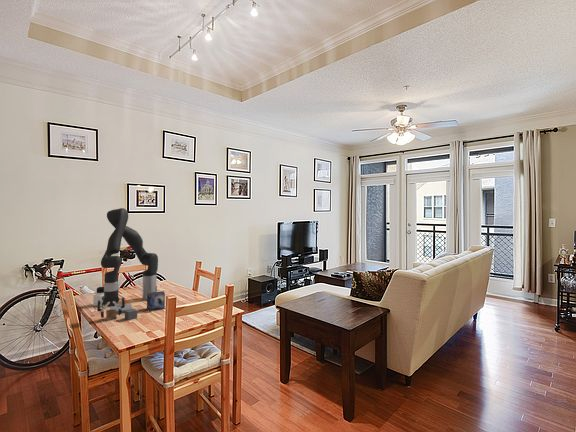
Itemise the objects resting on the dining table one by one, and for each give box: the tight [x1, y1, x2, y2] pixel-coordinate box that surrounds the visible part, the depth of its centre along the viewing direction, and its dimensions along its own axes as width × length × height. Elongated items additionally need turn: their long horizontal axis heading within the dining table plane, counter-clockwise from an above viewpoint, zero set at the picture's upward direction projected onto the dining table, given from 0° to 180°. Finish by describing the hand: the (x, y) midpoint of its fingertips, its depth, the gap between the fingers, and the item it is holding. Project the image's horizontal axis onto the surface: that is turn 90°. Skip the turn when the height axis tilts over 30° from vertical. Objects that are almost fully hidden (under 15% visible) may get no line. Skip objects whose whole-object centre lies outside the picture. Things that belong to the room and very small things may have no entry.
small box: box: [146, 290, 166, 311], centre depth 208 cm, size 11×6×10 cm, turn 118°
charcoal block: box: [124, 308, 138, 321], centre depth 189 cm, size 5×5×5 cm
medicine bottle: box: [92, 286, 105, 308], centre depth 214 cm, size 7×7×12 cm
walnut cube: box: [105, 309, 117, 322], centre depth 188 cm, size 5×5×5 cm
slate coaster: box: [109, 303, 133, 315], centre depth 202 cm, size 12×12×2 cm
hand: (111, 316), depth 188 cm, fingers open, 8 cm apart
